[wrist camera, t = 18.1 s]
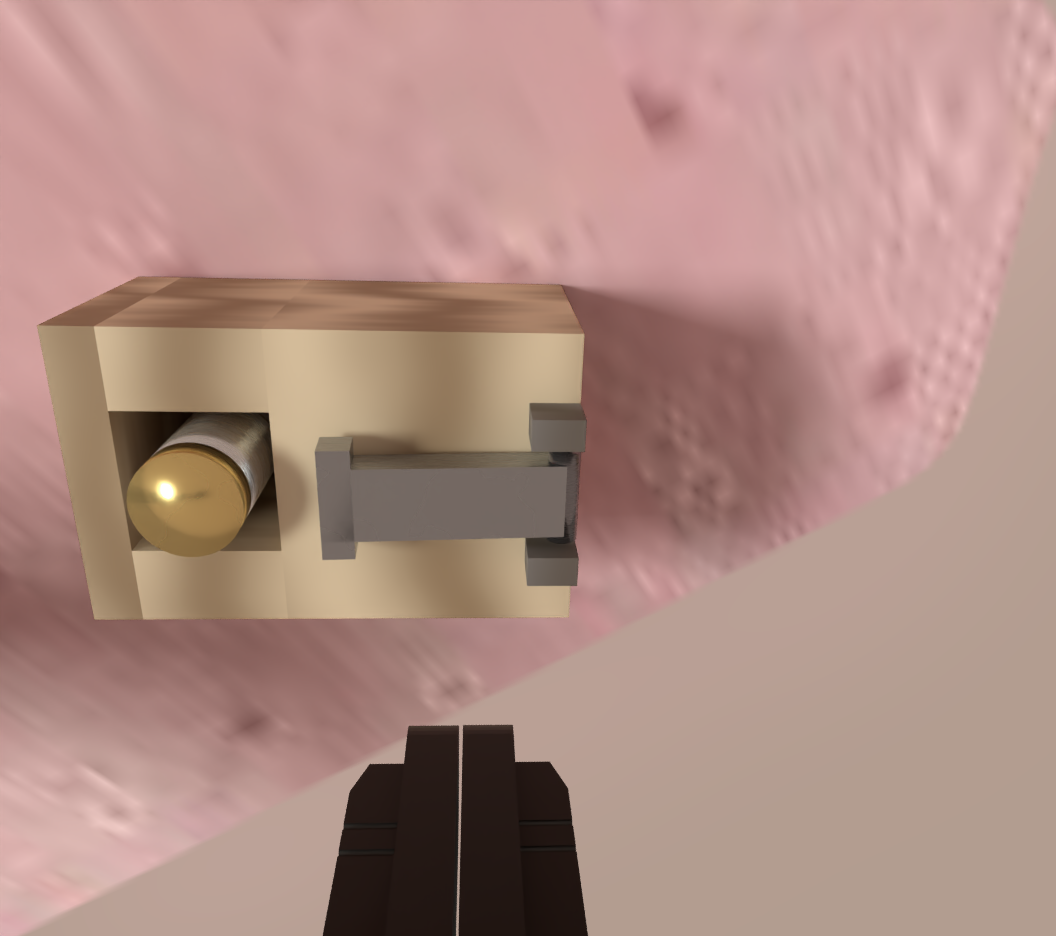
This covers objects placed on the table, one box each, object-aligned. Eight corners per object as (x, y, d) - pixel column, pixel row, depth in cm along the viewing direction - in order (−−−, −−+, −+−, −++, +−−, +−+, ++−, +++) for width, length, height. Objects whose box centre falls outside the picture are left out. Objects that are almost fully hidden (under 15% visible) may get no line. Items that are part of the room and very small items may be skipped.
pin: (222, 447, 35) (136, 557, 26) (212, 366, 34) (117, 454, 25) (306, 446, 35) (249, 556, 26) (299, 366, 34) (235, 454, 25)
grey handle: (326, 542, 27) (322, 560, 26) (319, 437, 26) (314, 451, 25) (572, 536, 28) (578, 553, 27) (578, 434, 27) (584, 447, 26)
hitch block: (172, 515, 36) (73, 647, 27) (138, 276, 32) (8, 339, 23) (550, 516, 37) (573, 643, 28) (560, 284, 33) (590, 347, 24)
